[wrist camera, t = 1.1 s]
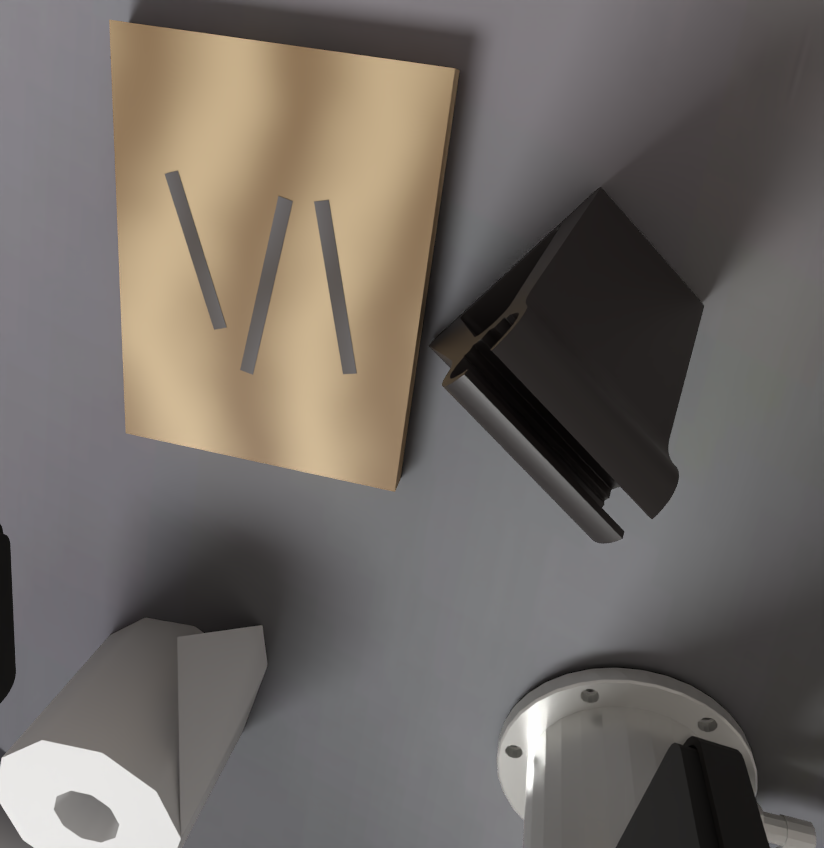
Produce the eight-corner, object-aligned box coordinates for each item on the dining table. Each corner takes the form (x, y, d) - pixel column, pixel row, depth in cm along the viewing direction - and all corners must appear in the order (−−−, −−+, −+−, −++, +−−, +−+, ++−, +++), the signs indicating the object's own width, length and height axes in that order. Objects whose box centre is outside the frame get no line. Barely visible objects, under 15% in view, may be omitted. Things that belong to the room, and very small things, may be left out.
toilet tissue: (288, 609, 37) (216, 739, 29) (228, 767, 42) (154, 911, 35) (131, 540, 37) (18, 651, 29) (93, 706, 43) (-11, 836, 35)
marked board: (459, 70, 25) (455, 68, 24) (400, 479, 32) (394, 491, 31) (127, 24, 27) (109, 19, 26) (139, 423, 34) (125, 433, 33)
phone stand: (601, 185, 26) (630, 229, 15) (702, 304, 27) (799, 425, 16) (429, 341, 30) (353, 467, 19) (524, 441, 30) (504, 616, 20)
